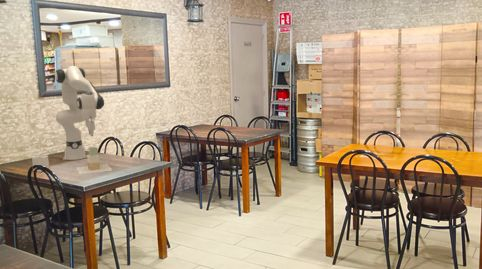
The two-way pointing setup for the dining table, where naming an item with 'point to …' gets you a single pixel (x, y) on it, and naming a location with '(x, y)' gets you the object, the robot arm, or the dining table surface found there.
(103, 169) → the cream square board
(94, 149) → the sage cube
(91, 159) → the cream tower block
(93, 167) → the oak tower block
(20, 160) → the dining table surface
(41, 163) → the toilet tissue
